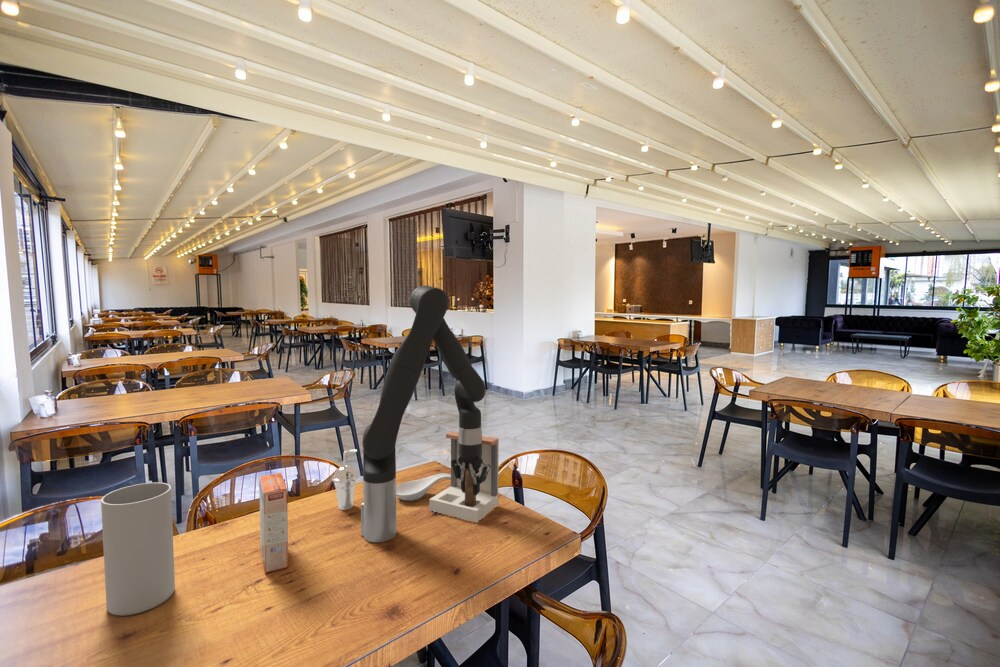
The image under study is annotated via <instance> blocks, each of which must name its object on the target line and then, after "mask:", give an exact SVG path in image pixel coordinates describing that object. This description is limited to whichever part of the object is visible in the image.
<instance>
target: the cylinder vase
mask: <svg viewBox="0 0 1000 667" xmlns="http://www.w3.org/2000/svg"><path fill="white" fill-rule="evenodd" d="M100 508H101V526H102V527H101V529H102V546H103V548H102V549H103V561H104V562H103V566H104V568H103V569H104V582H105V583H104V585H105V605H106V610H107V611H108V613H109V614H111V615H114V616H122V617H123V616H133V615H136V614H140V613H143V612H147V611H150V610H151V609H154V608H156V607H158V606H160V605H161V604H163V603H164V602H166V601H167V600H168V599H170V597H171V596H172V595H173V594H174V592H175V589H176V581H175V578H176V577H175V556H174V555H175V553H174V531H173V530H174V529H173V506H172V487H171V484H168V483H165V482H146V483H145V482H144V483H138V484H133V485H129V486H125V487H120V488H118V489H115V490H112V491H111V492H109V493H106V494H105V495H104V496H102V497H101V499H100Z"/></svg>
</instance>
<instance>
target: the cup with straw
mask: <svg viewBox="0 0 1000 667" xmlns="http://www.w3.org/2000/svg"><path fill="white" fill-rule="evenodd" d="M358 452H359V449H348V450H344V451H343V453H342V455H343V465H342V466H339V467H338V468H336V471H335V472H334V474H333V475H332V476H331V481H332V482H333V484H334V487H335V493H336V500H337V505H338V506H337V507H338V509H339V510H342V511H343V510H344V511H346V510H350V509H353V507H354V498H355V497H354V496H355V490H356V488H355V487H356V483H357V480H358V479H359V478H360V477H359V474H358V473H357V472H356V470H355V469H354V468H353V467H352V466H349V465H347V460H346V457H347V456H346V455H347V453H358Z"/></svg>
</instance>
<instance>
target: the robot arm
mask: <svg viewBox="0 0 1000 667" xmlns="http://www.w3.org/2000/svg"><path fill="white" fill-rule="evenodd" d="M448 298H449V297H448V296H447V293H446V292H445V291H444V290H443V289H441V288H439V287H435V286H430V285H420V286H417V287H416V288H414V290H412V292H411V293H410V298H409V303H410V304H409V305H410V308H411V309H412V310H413V312H414V313H415V316H414V320H413V323H412V326H411V328H410V330H409V332H408V333H407V335H406V337H405V338H404V340H403V341H402V343H401V344H400V345H399V346H398V348H397V349H396V351H395V352H394V354H393V356H392V358H391V360H390V363H389V365H388V369H387V372H386V375H385V378H384V381H383V384H382V385H383V386H382V389H381V393H380V399H379V403H378V407H377V410H376V413H375V415H374V417H373V419H372V421H371V423H369V425H367V426H366V427H365V429H364V431H363V433H362V434H363V435H362V442H361V443H362V448H363V449H362V452H363V457H362V459H363V460H362V461H363V464H362V483H363V484H362V485H363V486H362V488H363V495H362V496H363V502H362V503H361V504H360V531H361V532H360V535H361V536H362V537H363V538H364V540H365V541H367V542H370V543H383V542H388V541H390V540H392V539H394V538H395V537H396V536H397V496H396V486H397V479H396V478H397V465H396V464H397V461H396V460H397V459H396V444H397V440H398V434H399V430H400V427H401V423H402V420H403V417H404V414H405V411H406V410H407V407H408V406H409V404H410V401H411V400H412V398H413V395H414V393H415V390H416V388H417V385H418V382H419V379H420V377H421V374H422V371H423V369H424V365H425V362H426V360H427V357H428V355H429V353H430V352H429V351H430V349H431V346H432V343H433V342H434V344H435V346H436V349H437V350H438V352H439V354H440V356H441V358H442V361H443V362H444V363H443V364H445V367H446V369H447V370H448V372H449V375H451V377H452V378H454V379H456V380H457V381H456V382H455V386H454V390H453V391H454V399H455V403H456V407H457V411H458V432H459V433H458V454H459V458H458V459H457V458H456V459H454V460H452V461H451V460H450V465H451V464H452V467H453V470H454V474H455V477H456V478H457V479H460V481H461V490H462V492H463V493H465V468H467V469H470V471H471V476H472V477H473V482H474V484H473V495H477V494H478V493H479V492H480V484H481V483H482V482H484V481H485V480H486V477H487V475H488V472H489V469H490V465H489V464H488V465H486V464H484V463H483V461H482V458H481V457H482V436H483V430H482V412H481V409H479V408H478V407H477V406H476V404H475V403H478V402H480V401H482V400H483V399H484V398H485V396H486V392H487V390H486V385H485V383H484V380H483V378H482V377H481V376H480V374H479V372H477V370H476V369H475V368H474V367H473V366H472V364H471V362H470V360H469V358H468V355H467V353H466V351H465V349H464V347H463V346H462V344H461V343H460V341H459V339H458V338H457V337H456V335H455V334H454V333H453V331H452V330H451V328H450V327H449V325H448V324H447V321H446V320H445V316H446V314H447V310H448V306H449V299H448ZM460 465H461V467H462V468H460ZM480 467H481V471H482V472H481V475H480V469H479V468H480ZM475 472H476V473H475Z"/></svg>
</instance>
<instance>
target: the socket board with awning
mask: <svg viewBox="0 0 1000 667" xmlns="http://www.w3.org/2000/svg"><path fill="white" fill-rule="evenodd" d="M458 433H459V431H456V430H453V431H451V432H447V433H446V434H445V438H446V439H450V462H451V461H452V460H454V459H456V458H457V459H458V458H459V454H458ZM499 440H500V439H499V438H498V437H493V436H492V437H491V436H486V435H482V457H481V458H482V461H483V463H484V464H486V465H488V464H489V465H490V469H489V472H488V475H487V477H486V480H485V481H484V482H482V483H481V484H480V492H479V493H478V494H477V495H476V505H475V506H472V507H468V506H465V493H463V492H462V490H461V481H460V479H457V478H456V477H455V474H454V470H453V467H452V464H451V463H450V475H451V480H450V486H449V487H447V488H445V489H444V490H442V491H441V492H439V493H437V494H435V495H434V496H432V497H431V498H429V500H428V501H429V503H428V504H429V506H428V507H429V508H428V509H429V512H431V511H433V512H432V513H435V512H438V513H437V514H439V513H442V514H441V515H443V514H446V515H450V516H454V517H457V518H456V519H458V518H461V519H460V520H462V519H465V520H464V521H466V520H469V521H473V522H476V523H475V524H478V523H479V522H480V521H479V520H481V519H482V518H483V517H484V516H485V515H486V514H488V513H489V512H490V511H491V510H492V509H493V508H494V507H496V506H497V505H498V506H499V458H500V457H499V455H500V454H499V451H500V450H499V446H500V445H499V444H500V442H499ZM460 468H462V467H461V465H460ZM479 469H480V475H481V472H482V471H481V467H480V468H479ZM489 514H490V513H489ZM489 514H488V515H489ZM446 515H445V516H446ZM450 516H449V517H450ZM454 517H453V518H454ZM484 518H485V517H484ZM484 518H483V519H484ZM483 519H482V520H483ZM482 520H481V521H482ZM469 521H468V522H469ZM478 521H479V522H478ZM473 522H472V523H473ZM477 522H478V523H477Z"/></svg>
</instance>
